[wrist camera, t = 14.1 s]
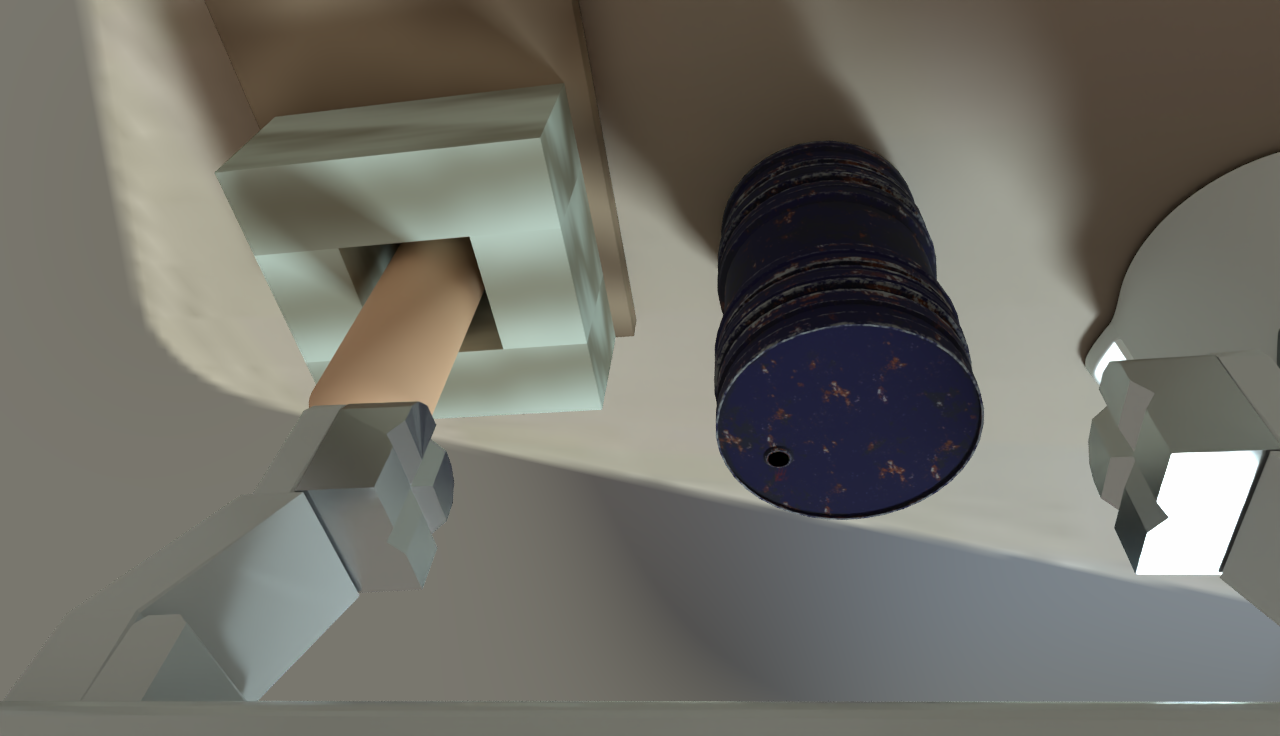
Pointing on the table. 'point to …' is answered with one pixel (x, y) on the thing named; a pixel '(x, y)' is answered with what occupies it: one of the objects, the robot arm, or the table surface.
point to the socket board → (422, 67)
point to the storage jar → (837, 340)
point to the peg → (407, 328)
